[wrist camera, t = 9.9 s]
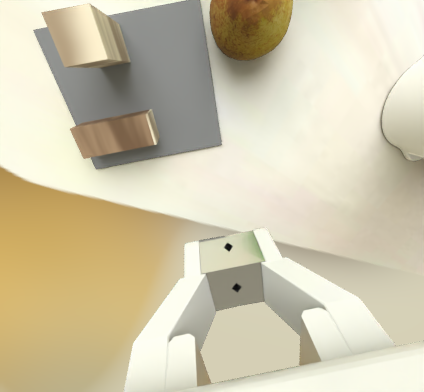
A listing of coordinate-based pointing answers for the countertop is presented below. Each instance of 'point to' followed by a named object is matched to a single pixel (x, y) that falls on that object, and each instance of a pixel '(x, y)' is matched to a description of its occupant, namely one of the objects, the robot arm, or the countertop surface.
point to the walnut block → (116, 134)
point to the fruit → (249, 26)
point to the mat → (148, 81)
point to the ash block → (86, 37)
